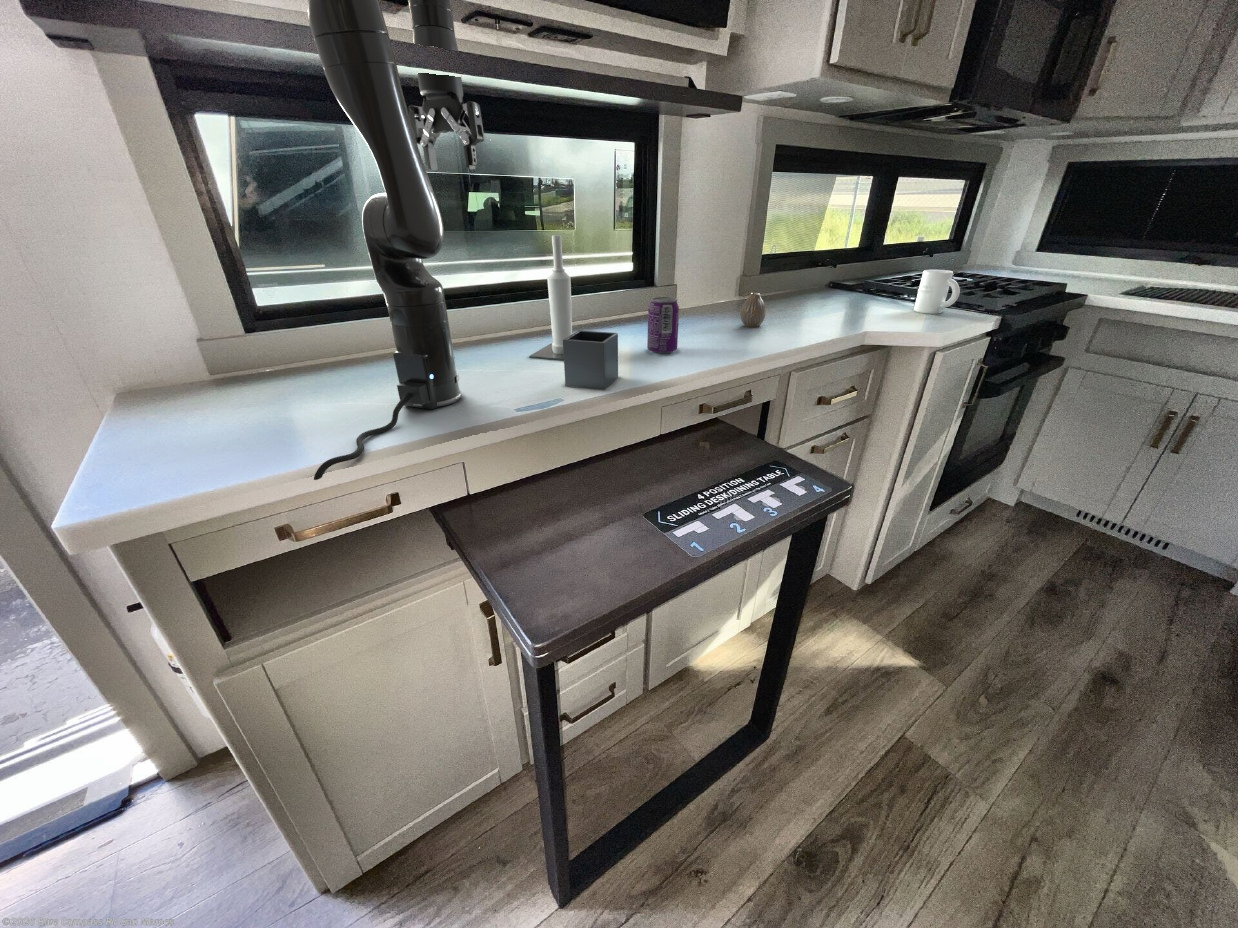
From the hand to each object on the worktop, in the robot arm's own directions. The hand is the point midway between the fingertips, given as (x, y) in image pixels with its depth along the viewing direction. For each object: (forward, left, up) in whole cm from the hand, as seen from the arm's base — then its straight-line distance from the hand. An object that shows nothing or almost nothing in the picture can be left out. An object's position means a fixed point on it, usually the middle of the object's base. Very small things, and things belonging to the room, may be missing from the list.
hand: (451, 169), depth 97 cm
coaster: (+11, -16, -38) cm, 42 cm away
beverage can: (+19, -38, -38) cm, 57 cm away
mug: (+88, -109, -38) cm, 145 cm away
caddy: (-7, -30, -38) cm, 49 cm away
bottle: (+11, -16, -37) cm, 42 cm away
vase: (+53, -56, -38) cm, 86 cm away
